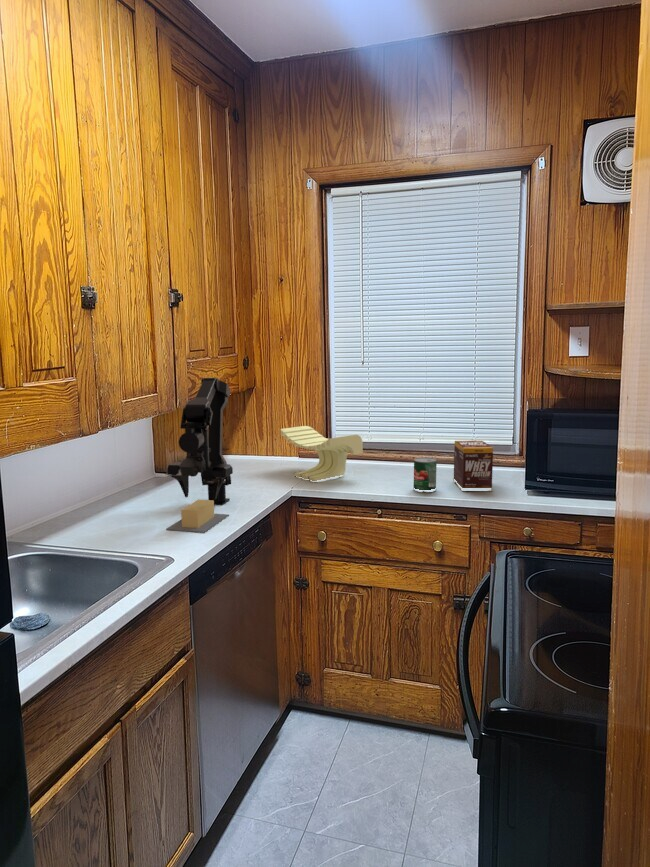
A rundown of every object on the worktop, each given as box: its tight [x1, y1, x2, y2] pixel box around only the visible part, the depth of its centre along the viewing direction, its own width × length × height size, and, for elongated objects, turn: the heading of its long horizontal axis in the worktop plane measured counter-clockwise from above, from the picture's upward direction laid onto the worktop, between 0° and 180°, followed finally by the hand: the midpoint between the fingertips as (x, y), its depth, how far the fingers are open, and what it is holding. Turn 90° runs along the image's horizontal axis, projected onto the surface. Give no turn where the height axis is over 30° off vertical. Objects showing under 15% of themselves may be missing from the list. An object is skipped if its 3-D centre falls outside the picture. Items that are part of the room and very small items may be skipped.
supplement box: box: [453, 440, 494, 489], centre depth 224 cm, size 10×15×16 cm
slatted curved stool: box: [280, 425, 364, 481], centre depth 241 cm, size 30×16×18 cm, turn 40°
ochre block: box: [180, 499, 215, 528], centre depth 184 cm, size 5×5×12 cm
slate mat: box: [165, 513, 230, 534], centre depth 185 cm, size 17×12×1 cm
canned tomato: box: [413, 456, 438, 490], centre depth 219 cm, size 8×8×11 cm
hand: (200, 497), depth 186 cm, fingers open, 9 cm apart
